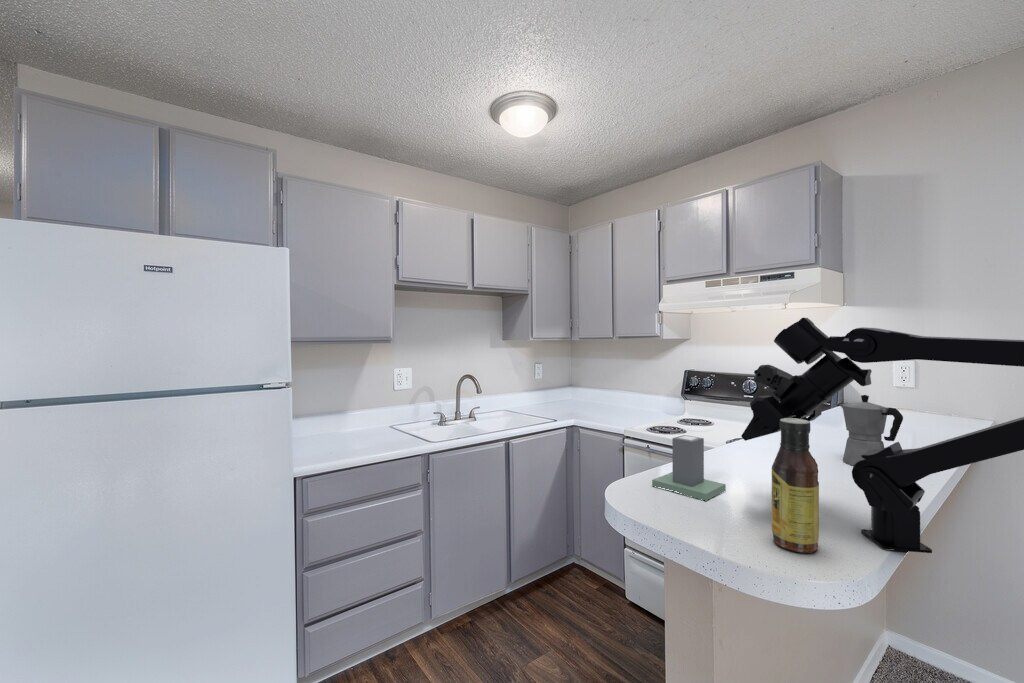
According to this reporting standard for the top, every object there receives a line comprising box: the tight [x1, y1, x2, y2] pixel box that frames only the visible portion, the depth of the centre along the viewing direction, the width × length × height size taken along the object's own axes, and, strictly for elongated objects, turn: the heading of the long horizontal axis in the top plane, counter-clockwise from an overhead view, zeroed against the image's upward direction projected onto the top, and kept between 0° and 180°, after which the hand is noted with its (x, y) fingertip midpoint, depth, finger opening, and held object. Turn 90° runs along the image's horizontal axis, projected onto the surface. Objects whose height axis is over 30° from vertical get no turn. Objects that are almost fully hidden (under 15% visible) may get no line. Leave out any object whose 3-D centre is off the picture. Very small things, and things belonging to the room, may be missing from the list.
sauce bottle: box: [771, 418, 820, 554], centre depth 69 cm, size 7×6×20 cm
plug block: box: [671, 434, 705, 487], centre depth 96 cm, size 4×5×10 cm
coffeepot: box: [839, 394, 904, 467], centre depth 113 cm, size 15×9×18 cm, turn 14°
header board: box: [651, 471, 727, 502], centre depth 96 cm, size 12×9×4 cm
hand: (754, 435), depth 87 cm, fingers open, 9 cm apart
